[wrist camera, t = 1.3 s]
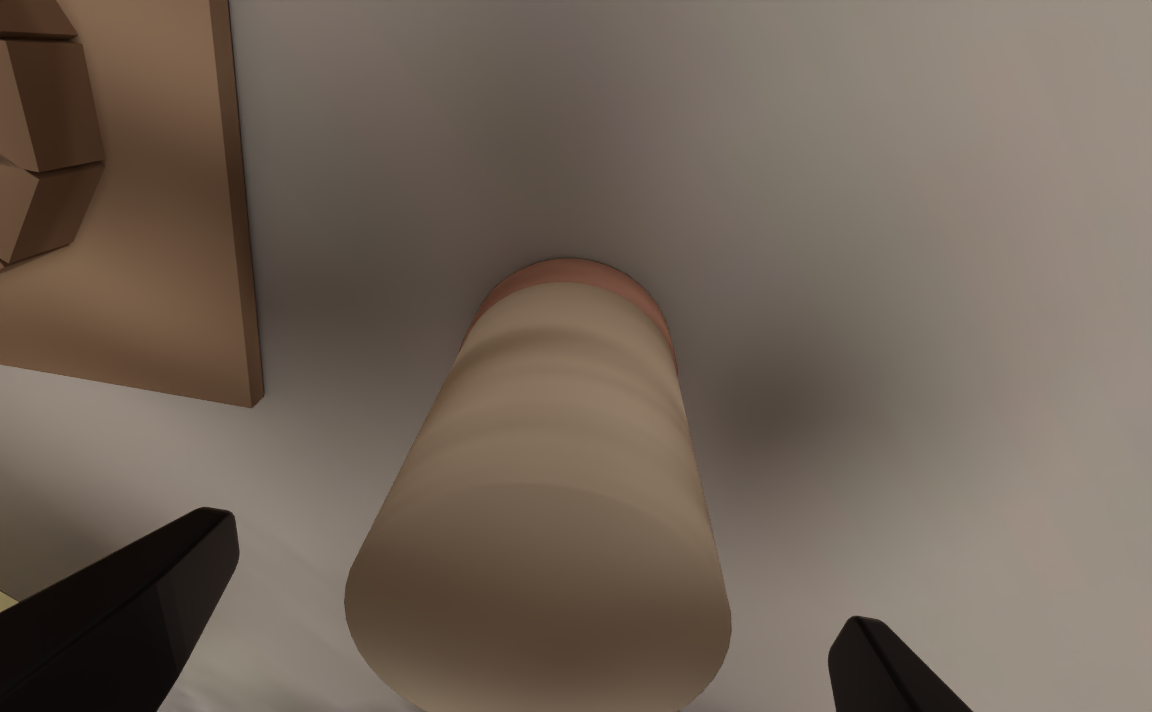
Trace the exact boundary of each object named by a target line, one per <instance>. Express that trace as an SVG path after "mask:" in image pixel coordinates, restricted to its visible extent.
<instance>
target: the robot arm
mask: <svg viewBox="0 0 1152 712" xmlns="http://www.w3.org/2000/svg"><path fill="white" fill-rule="evenodd" d="M238 560H239V543H238V536H237V528H236V521H235V516H234V515H233V513H232V512H230V511H228V510H222V509H216V508H210V507H201V508H198V509H195V510H193V511H191V512H189V513H187V514H186V515H184V516H182V517H180V518H178V519H176V520H174V521H172V522H170V523H169V524H167V525H165V526H163V527H161V528H159V529H157V530H155V531H153V532H151V533H150V534H148V535H146V536H144V537H142V538H140V539H138V540H136V541H134V542H132V543H131V544H129V545H127V546H125V547H123V548H121V549H119V550H117V551H115V552H114V553H112V554H110V555H108V556H106V557H104V558H102V559H100V560H98V561H96V562H95V563H93V564H91V565H89V566H87V567H85V568H83V569H81V570H79V571H77V572H76V573H74V574H72V575H70V576H68V577H66V578H64V579H62V580H60V581H59V582H57V583H55V584H53V585H51V586H49V587H47V588H45V589H43V590H41V591H40V592H38V593H36V594H34V595H32V596H30V597H28V598H26V599H24V600H22V601H21V602H19V603H17V604H15V605H13V606H11V607H9V608H7V609H5V610H3V611H2V612H0V712H157V710H158V708H159V707H160V705H161V704H162V702H163V701H164V699H165V698H166V696H167V695H168V693H169V691H170V690H171V688H172V687H173V685H174V683H175V682H176V680H177V678H178V677H179V675H180V673H181V671H182V670H183V668H184V666H185V664H186V662H187V661H188V659H189V657H190V655H191V653H192V651H193V649H194V647H195V645H196V644H197V642H198V640H199V638H200V636H201V634H202V632H203V630H204V628H205V626H206V624H207V623H208V621H209V619H210V617H211V615H212V613H213V611H214V609H215V607H216V605H217V603H218V602H219V600H220V598H221V596H222V594H223V592H224V590H225V588H226V586H227V584H228V582H229V580H230V579H231V577H232V575H233V573H234V571H235V569H236V566H237V564H238ZM828 668H829V674H830V679H831V685H832V690H833V696H834V701H835V707H836V712H973V711H972V710H971V709H970V708H969V707H968V706H967V705H966V704H965V703H964V702H963V701H962V700H961V699H960V698H959V697H958V696H957V695H956V694H955V693H954V692H953V691H952V690H951V689H950V688H949V687H948V686H947V685H946V684H945V683H944V682H943V681H942V680H941V679H940V678H939V677H938V676H937V675H936V674H935V673H934V672H933V671H932V670H931V669H930V668H929V667H928V666H927V665H926V664H925V663H924V662H923V661H922V660H921V659H920V658H919V657H918V656H917V655H916V654H915V653H914V652H913V651H912V650H911V649H910V648H909V647H908V646H907V645H906V644H905V643H904V642H903V641H902V640H901V639H900V638H899V637H898V636H897V635H896V634H895V633H894V632H893V631H892V630H891V629H890V628H889V627H888V626H887V625H886V624H885V623H884V622H882V621H880V620H878V619H874V618H868V617H862V616H852V617H851V618H849V619H848V620H847V622H846V623H845V625H844V627H843V628H842V630H841V631H840V633H839V635H838V636H837V638H836V640H835V641H834V643H833V645H832V646H831V648H830V651H829V655H828Z"/></svg>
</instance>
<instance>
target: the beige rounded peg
mask: <svg viewBox="0 0 1152 712" xmlns="http://www.w3.org/2000/svg"><path fill="white" fill-rule="evenodd" d="M344 604H345V613H346V620H347V623H348V627H349V630H350V633H351V636H352V638H353V640H354V642H355V644H356V646H357V648H358V650H359V652H360V653H361V655H362V656H363V658H364V659H365V661H366V662H367V663H368V665H369V666H370V667H371V668H372V670H373V671H374V672H375V673H376V674H377V675H378V676H379V677H380V678H381V679H382V680H383V681H384V682H385V683H386V684H387V685H388V686H390V687H391V688H392V689H393V690H394V691H395V692H397V693H398V694H399V695H401V696H402V697H404V698H405V699H407V700H408V701H409V702H411V703H412V704H414V705H416V706H417V707H419V708H421V709H423V710H424V711H426V712H677V711H679V710H680V709H682V708H683V707H685V706H686V705H688V704H689V703H690V702H691V701H692V700H694V699H695V698H696V697H697V696H698V695H699V694H700V693H702V692H703V691H704V689H705V688H706V687H707V686H708V685H709V683H710V682H711V681H712V680H713V679H714V677H715V676H716V674H717V672H718V671H719V669H720V667H721V666H722V664H723V662H724V659H725V656H726V654H727V651H728V648H729V643H730V637H731V631H732V628H731V611H730V607H729V602H728V598H727V594H726V589H725V585H724V580H723V576H722V572H721V567H720V563H719V558H718V554H717V550H716V545H715V541H714V536H713V532H712V528H711V523H710V519H709V514H708V510H707V506H706V501H705V497H704V492H703V488H702V484H701V479H700V475H699V470H698V466H697V462H696V457H695V453H694V448H693V444H692V440H691V435H690V431H689V426H688V422H687V418H686V413H685V409H684V404H683V400H682V396H681V391H680V387H679V382H678V371H677V363H676V359H675V355H674V351H673V346H672V342H671V338H670V334H669V329H668V326H667V323H666V321H665V318H664V316H663V314H662V312H661V310H660V309H659V307H658V305H657V304H656V302H655V301H654V300H653V299H652V297H651V296H650V295H649V294H648V293H647V292H646V291H645V290H644V289H643V288H642V287H641V286H640V285H639V284H638V283H637V282H635V281H634V280H632V279H631V278H630V277H628V276H627V275H625V274H624V273H622V272H620V271H618V270H616V269H614V268H612V267H609V266H607V265H604V264H602V263H598V262H594V261H590V260H583V259H575V258H561V259H553V260H547V261H543V262H539V263H535V264H532V265H530V266H528V267H525V268H523V269H520V270H519V271H517V272H515V273H513V274H512V275H510V276H508V277H507V278H506V279H504V280H503V281H502V282H500V283H499V284H498V285H497V286H496V287H495V288H494V289H493V290H492V291H491V292H490V293H489V294H488V296H487V297H486V299H485V300H484V301H483V303H482V304H481V306H480V308H479V310H478V312H477V314H476V316H475V318H474V320H473V322H472V324H471V326H470V327H469V329H468V331H467V333H466V335H465V337H464V339H463V342H462V345H461V348H460V351H459V354H458V356H457V358H456V360H455V362H454V364H453V366H452V368H451V370H450V372H449V374H448V376H447V378H446V380H445V382H444V384H443V386H442V388H441V390H440V392H439V394H438V396H437V398H436V400H435V402H434V404H433V406H432V408H431V410H430V412H429V414H428V416H427V418H426V420H425V422H424V424H423V426H422V428H421V430H420V432H419V434H418V436H417V438H416V440H415V442H414V443H413V445H412V447H411V449H410V451H409V453H408V455H407V457H406V459H405V461H404V463H403V465H402V467H401V469H400V471H399V473H398V475H397V477H396V479H395V481H394V483H393V485H392V487H391V489H390V491H389V493H388V495H387V497H386V499H385V501H384V503H383V505H382V507H381V509H380V511H379V513H378V515H377V517H376V519H375V521H374V523H373V525H372V527H371V529H370V531H369V533H368V535H367V537H366V539H365V541H364V543H363V545H362V547H361V549H360V551H359V553H358V555H357V557H356V559H355V561H354V563H353V565H352V567H351V569H350V572H349V576H348V579H347V583H346V588H345V600H344Z"/></svg>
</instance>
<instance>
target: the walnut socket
mask: <svg viewBox="0 0 1152 712" xmlns="http://www.w3.org/2000/svg"><path fill="white" fill-rule="evenodd" d="M0 364H1V365H7V366H13V367H18V368H24V369H30V370H36V371H41V372H47V373H53V374H59V375H64V376H70V377H76V378H81V379H87V380H93V381H99V382H104V383H110V384H116V385H122V386H127V387H133V388H139V389H144V390H150V391H156V392H162V393H167V394H173V395H179V396H185V397H190V398H196V399H202V400H207V401H213V402H219V403H225V404H230V405H236V406H242V407H248V408H253V407H254V406H255V405H256V404H257V403H258V402H259V401H260V400H261V399H262V398H263V397H264V391H263V380H262V369H261V359H260V348H259V337H258V326H257V315H256V304H255V293H254V283H253V272H252V261H251V250H250V239H249V228H248V217H247V207H246V196H245V185H244V174H243V163H242V152H241V141H240V131H239V120H238V109H237V98H236V87H235V76H234V65H233V54H232V44H231V33H230V22H229V11H228V0H0Z"/></svg>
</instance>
